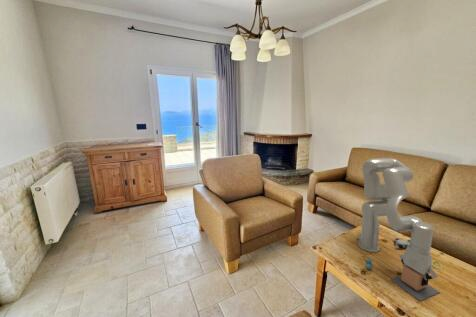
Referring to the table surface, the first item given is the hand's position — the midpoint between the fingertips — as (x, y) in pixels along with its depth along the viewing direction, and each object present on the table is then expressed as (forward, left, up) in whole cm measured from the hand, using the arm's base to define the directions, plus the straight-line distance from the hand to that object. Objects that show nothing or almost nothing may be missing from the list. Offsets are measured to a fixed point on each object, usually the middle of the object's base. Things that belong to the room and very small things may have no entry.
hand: (414, 278), depth 103 cm
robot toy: (-22, +30, -5) cm, 38 cm away
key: (-8, +27, -5) cm, 28 cm away
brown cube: (0, 0, -2) cm, 2 cm away
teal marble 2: (-17, -11, -2) cm, 20 cm away
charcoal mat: (0, 0, -4) cm, 4 cm away
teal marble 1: (-21, -6, -2) cm, 22 cm away
